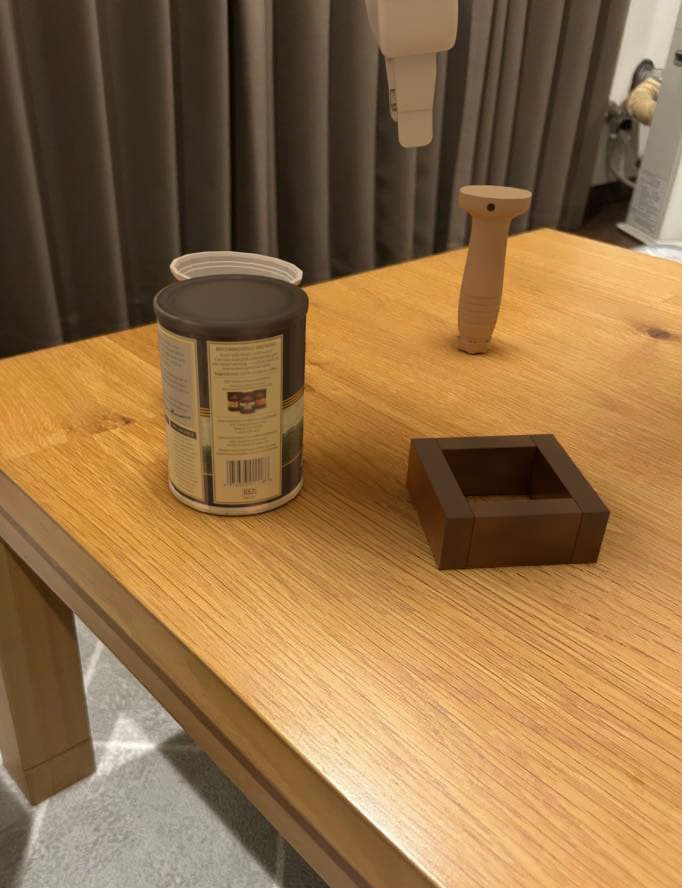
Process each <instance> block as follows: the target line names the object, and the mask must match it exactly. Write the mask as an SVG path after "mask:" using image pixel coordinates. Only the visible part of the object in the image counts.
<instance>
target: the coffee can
mask: <svg viewBox="0 0 682 888" xmlns="http://www.w3.org/2000/svg"><path fill="white" fill-rule="evenodd" d="M152 303H153V312H154V314H155V316H156V325H157V326H156V329H157V339H158V353H159V364H160V366H159V367H160V375H161V376H160V377H161V387H162V390H161V391H162V402H163V413H164V414H163V416H164V428H165V429H164V430H165V441H166V451H167V452H166V455H167V465H168V466H167V467H168V468H167V469H168V481H167V482H168V483H167V484H168V487H169V490H170V492H171V493H172V495H173V496H174V497H175V498H176V499H177V500H178V501H179V502H180V503H182V504H184V505H185V506H188V507H189V508H192V509H195V510H197V511H199V512H201V513H202V512H203V513H208V514H212V515H218V516H226V517H228V516H229V517H230V516H248V515H257V514H261V513H265V512H269V511H272V510H275V509H277V508H280V507H282V506H283V505H285V504H287V503H289V502H291V501H292V500H293V499H295V497H296V496H297V495H298V494H299V493H300V491H301V490H302V487H303V484H304V478H305V477H304V472H303V471H304V470H303V466H304V465H303V464H304V423H305V422H304V420H305V419H304V416H305V415H304V413H305V412H304V411H305V383H306V381H305V378H306V353H307V351H306V349H307V342H306V339H307V337H306V336H307V335H306V334H307V314H308V312H309V306H310V305H309V304H310V299H309V295H308V294H307V292H306V291H305V290H304V289H303V288H301V287H300V286H299V285H297V286H296V285H294V284H292V283H289V282H287V281H284V280H281V279H276V278H272V277H266V276H260V275H249V274H218V275H208V276H201V277H195V278H190V279H186V280H182V281H179V282H176V281H175V282H173V283H171V284H168V285H167V286H165V287H162V289H160V290H159V291H158V292H157V293H156V294H155V296H154V297H153V302H152Z"/></svg>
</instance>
